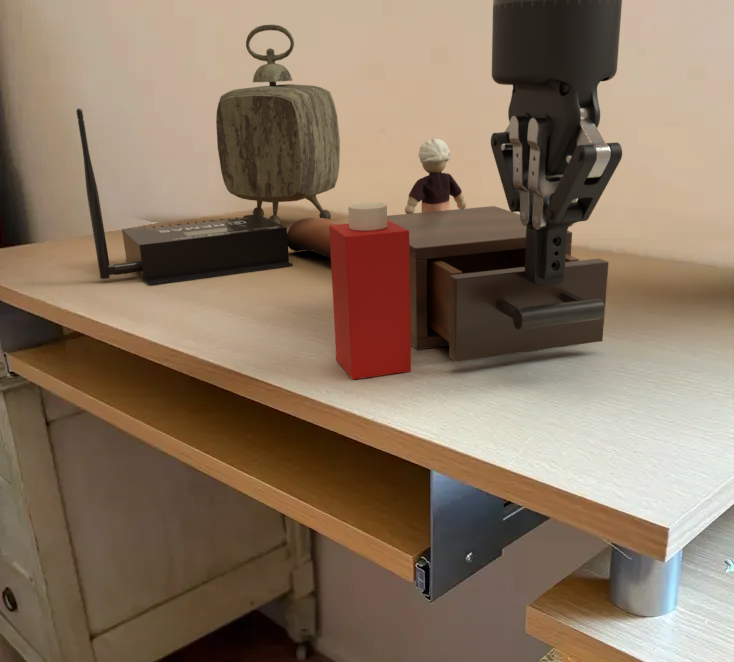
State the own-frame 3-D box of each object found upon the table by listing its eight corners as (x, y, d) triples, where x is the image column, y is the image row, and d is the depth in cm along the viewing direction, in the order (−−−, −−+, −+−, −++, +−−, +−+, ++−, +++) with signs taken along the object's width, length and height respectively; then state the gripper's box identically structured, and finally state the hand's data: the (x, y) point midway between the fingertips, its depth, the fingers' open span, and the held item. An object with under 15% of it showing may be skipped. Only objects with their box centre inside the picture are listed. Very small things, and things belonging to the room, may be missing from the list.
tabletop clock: (343, 220, 115) (334, 22, 105) (313, 233, 107) (300, 20, 98) (254, 216, 120) (237, 28, 111) (219, 228, 113) (198, 27, 103)
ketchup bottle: (391, 352, 63) (388, 198, 58) (411, 371, 59) (409, 207, 54) (335, 360, 62) (327, 203, 57) (352, 379, 58) (344, 212, 53)
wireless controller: (255, 243, 102) (242, 96, 96) (294, 265, 91) (283, 98, 84) (88, 264, 95) (61, 105, 88) (107, 291, 83) (78, 110, 76)
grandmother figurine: (445, 251, 95) (444, 134, 90) (470, 255, 92) (472, 136, 87) (396, 263, 90) (394, 141, 85) (422, 268, 87) (421, 143, 82)
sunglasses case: (437, 263, 86) (410, 212, 83) (390, 307, 85) (360, 257, 81) (346, 238, 101) (319, 193, 97) (305, 276, 99) (275, 231, 95)
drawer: (636, 359, 57) (644, 274, 54) (481, 382, 54) (482, 294, 51) (523, 299, 72) (525, 230, 69) (396, 314, 69) (394, 243, 66)
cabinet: (566, 329, 66) (572, 232, 63) (417, 350, 63) (415, 248, 60) (492, 289, 79) (494, 205, 76) (363, 304, 75) (360, 217, 72)
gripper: (681, -14, 44) (650, 300, 51) (557, 3, 56) (545, 257, 63) (556, -12, 42) (541, 314, 49) (454, 6, 54) (453, 267, 61)
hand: (543, 282), depth 56 cm, fingers closed
